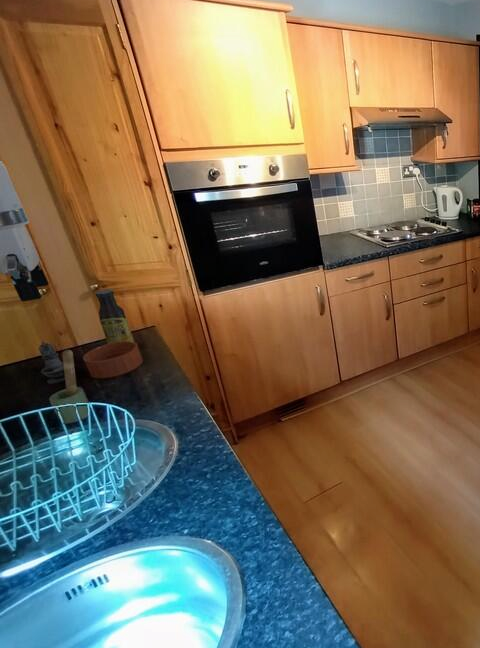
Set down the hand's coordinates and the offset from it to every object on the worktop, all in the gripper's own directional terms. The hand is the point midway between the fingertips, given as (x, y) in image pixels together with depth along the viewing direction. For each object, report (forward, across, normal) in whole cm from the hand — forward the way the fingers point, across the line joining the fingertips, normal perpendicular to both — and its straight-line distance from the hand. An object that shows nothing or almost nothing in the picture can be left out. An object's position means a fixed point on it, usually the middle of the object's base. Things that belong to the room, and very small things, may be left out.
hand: (36, 292), depth 103 cm
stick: (+32, +3, -2) cm, 32 cm away
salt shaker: (+32, -23, -8) cm, 41 cm away
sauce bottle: (+32, -34, +6) cm, 47 cm away
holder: (+32, +3, -2) cm, 33 cm away
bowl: (+32, -20, +5) cm, 38 cm away
